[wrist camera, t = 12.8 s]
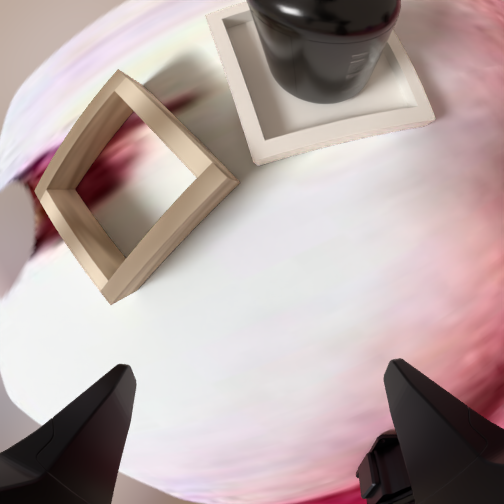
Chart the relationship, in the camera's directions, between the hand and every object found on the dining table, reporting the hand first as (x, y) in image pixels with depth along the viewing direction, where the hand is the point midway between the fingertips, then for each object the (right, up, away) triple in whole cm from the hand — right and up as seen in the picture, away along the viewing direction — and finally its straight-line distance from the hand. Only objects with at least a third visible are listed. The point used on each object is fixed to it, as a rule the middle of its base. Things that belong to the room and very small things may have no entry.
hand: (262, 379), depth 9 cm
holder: (-9, +9, +11) cm, 17 cm away
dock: (+4, +17, +7) cm, 19 cm away
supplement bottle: (+4, +17, +7) cm, 19 cm away
